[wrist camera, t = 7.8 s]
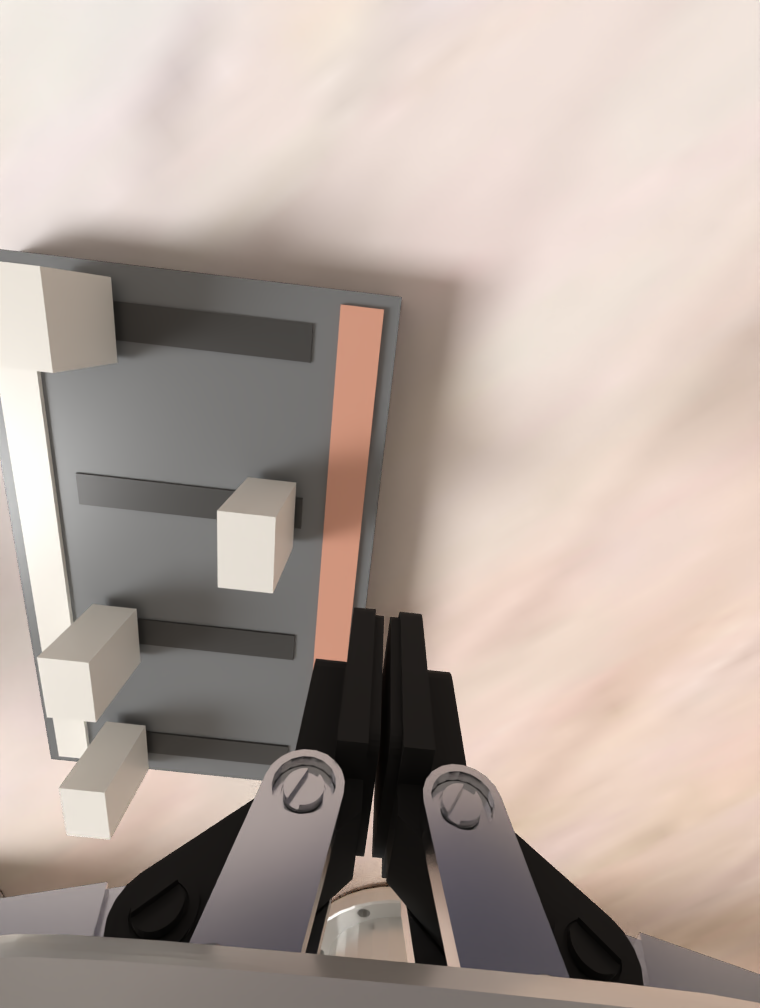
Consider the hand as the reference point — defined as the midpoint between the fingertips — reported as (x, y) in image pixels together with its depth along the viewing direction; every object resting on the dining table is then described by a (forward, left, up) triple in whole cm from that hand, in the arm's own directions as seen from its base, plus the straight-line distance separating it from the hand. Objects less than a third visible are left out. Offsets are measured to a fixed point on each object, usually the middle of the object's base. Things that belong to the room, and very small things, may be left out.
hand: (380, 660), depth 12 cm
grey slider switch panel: (+8, +4, -12) cm, 15 cm away
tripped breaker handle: (+5, 0, -9) cm, 10 cm away
